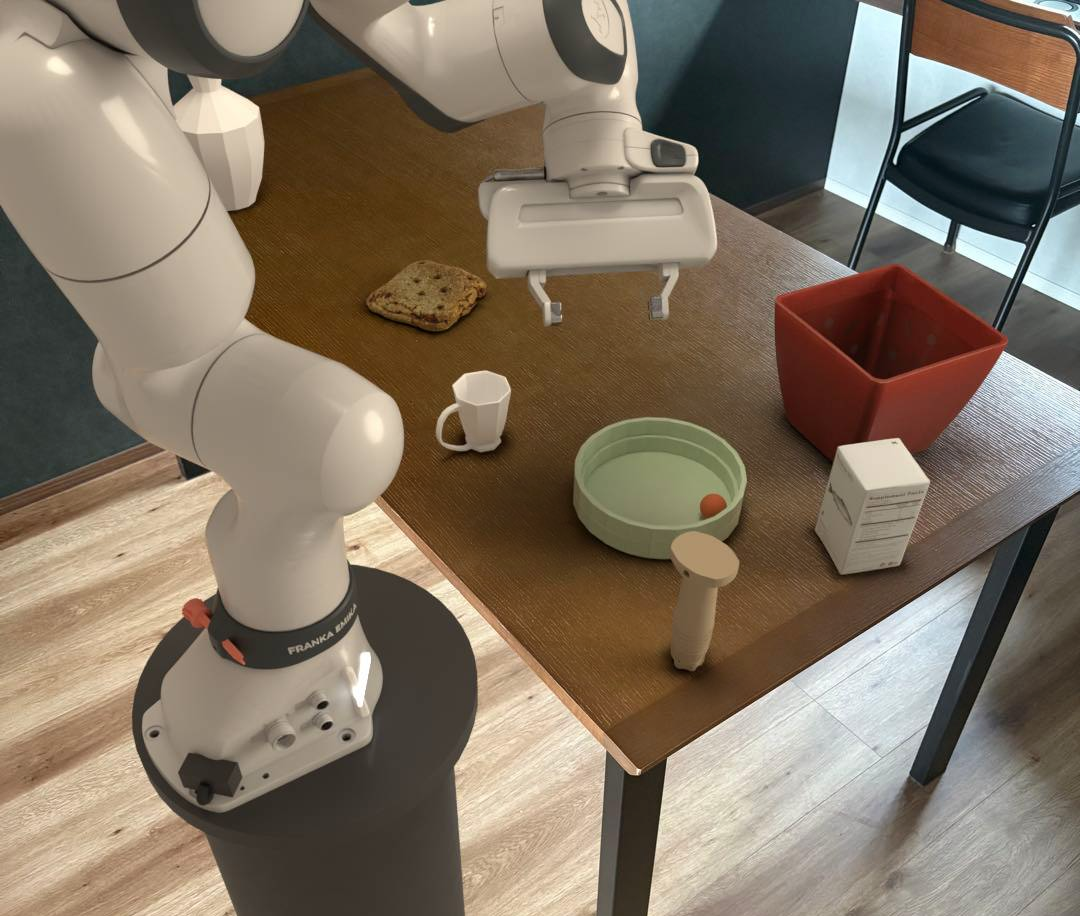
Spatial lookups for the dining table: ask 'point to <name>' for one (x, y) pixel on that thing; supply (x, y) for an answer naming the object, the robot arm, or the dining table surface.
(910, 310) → the flower pot
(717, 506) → the ball
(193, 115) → the vase
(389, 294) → the pastry
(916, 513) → the white packaging box
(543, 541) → the dining table surface
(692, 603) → the handle
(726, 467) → the bowl
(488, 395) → the cup
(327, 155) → the dining table surface
